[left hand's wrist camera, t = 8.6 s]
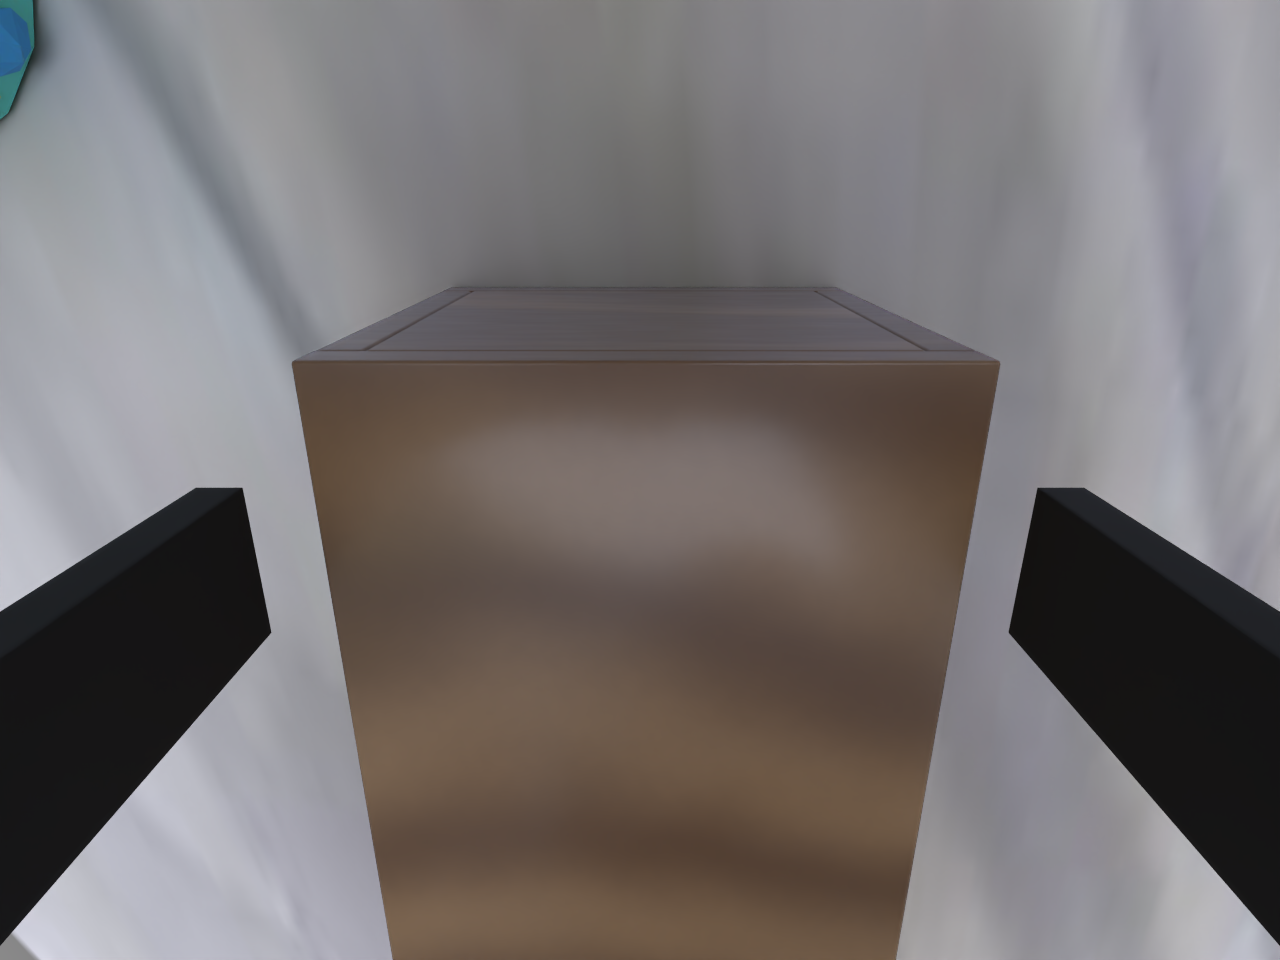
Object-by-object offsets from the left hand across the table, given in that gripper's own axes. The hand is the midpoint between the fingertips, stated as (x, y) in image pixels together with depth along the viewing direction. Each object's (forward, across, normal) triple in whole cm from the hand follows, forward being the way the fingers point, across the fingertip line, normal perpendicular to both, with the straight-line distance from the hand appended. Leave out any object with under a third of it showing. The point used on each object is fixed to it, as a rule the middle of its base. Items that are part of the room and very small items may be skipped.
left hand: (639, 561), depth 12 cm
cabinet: (+11, 0, -7) cm, 13 cm away
